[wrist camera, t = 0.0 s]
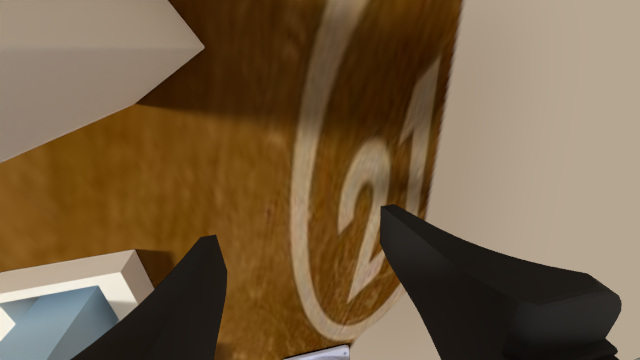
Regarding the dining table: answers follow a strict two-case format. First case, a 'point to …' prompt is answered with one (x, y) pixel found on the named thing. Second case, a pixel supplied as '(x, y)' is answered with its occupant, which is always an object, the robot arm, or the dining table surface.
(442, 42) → the dining table surface
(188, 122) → the dining table surface
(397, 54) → the dining table surface
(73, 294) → the block
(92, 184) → the dining table surface
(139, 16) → the milk
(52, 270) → the housing
